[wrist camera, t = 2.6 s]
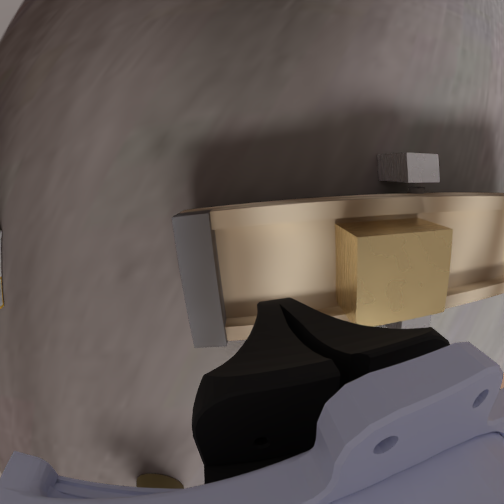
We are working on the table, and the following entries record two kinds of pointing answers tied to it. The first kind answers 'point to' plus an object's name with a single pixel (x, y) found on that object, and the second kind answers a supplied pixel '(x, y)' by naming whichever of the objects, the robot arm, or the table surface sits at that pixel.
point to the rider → (392, 269)
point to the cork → (158, 481)
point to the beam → (317, 253)
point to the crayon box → (0, 295)
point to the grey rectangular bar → (409, 171)
